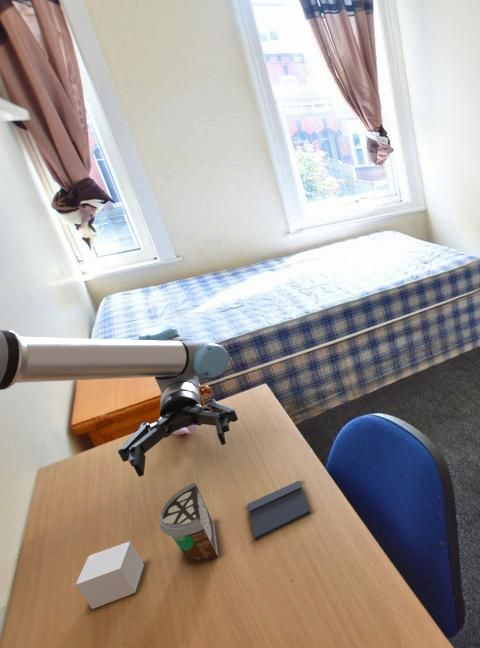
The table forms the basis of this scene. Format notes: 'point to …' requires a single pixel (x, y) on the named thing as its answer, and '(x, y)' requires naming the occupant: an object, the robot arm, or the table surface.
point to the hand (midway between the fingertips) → (181, 454)
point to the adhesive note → (110, 575)
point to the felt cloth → (277, 509)
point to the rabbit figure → (185, 430)
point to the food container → (190, 524)
